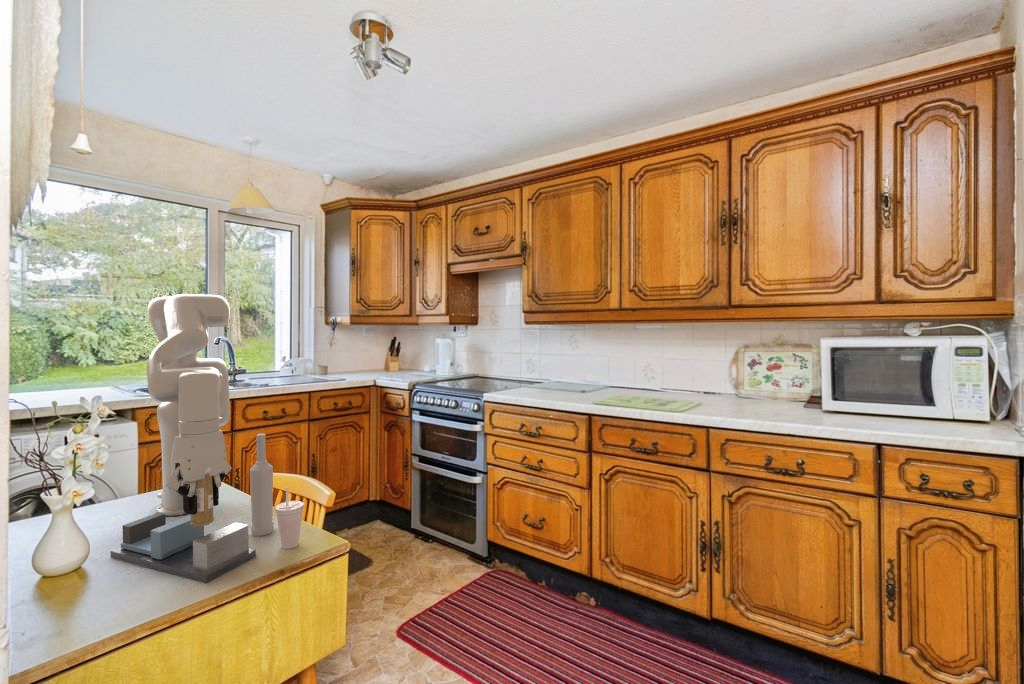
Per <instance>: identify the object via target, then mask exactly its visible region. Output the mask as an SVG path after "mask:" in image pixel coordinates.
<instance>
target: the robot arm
mask: <svg viewBox="0 0 1024 684" xmlns="http://www.w3.org/2000/svg"><path fill="white" fill-rule="evenodd" d="M147 307H148V308H147V309H148V310H147V311H148V318H149V320H150V324H151V327H152V329H153V332H154V333H155V334H156V337H157V339H158V342H159V344H158V345H156V347H155V348H154V349H153V350H152V351H151V353H150V355H149V357H148V360H147V362H146V363H147V364H146V379H147V390H148V395H149V396H150V398H151V399H152V400H153V401H155V402H159V404H158V406H157V408H156V419H157V424H158V429H159V434H160V445H161V472H162V473H161V476H162V478H161V479H162V480H161V481H162V492H158V494H156V495H157V496H156V497H157V498H158V499H161V503H159V505H157V506H156V508H155V511H156V513H158V512H159V513H164V514H166V516H167V517H168V516H170V517H171V516H173V517H174V516H180V515H181V516H182V515H187V514H189V515H191V514H193V515H194V514H196V513H197V496H196V495H194V491H195V486H196V481H199V480H201V479H203V478H205V474H207V473H205V471H206V469H207V468H210V469H211V471H210V472H208V473H210V474H209V475H210V476H212V486H213V507H218V506H219V502H220V501H219V498H220V497H219V495H220V494H219V493H220V491H219V489H220V487H221V486H222V481H223V480H224V479H225V478H226V475H227V474H229V472H231V470H232V466H231V464H230V463H229V462H228V461H227V448H226V440H225V436H224V434H223V430H222V429H221V427H223V426H226V425H227V424H228V423H229V421H230V418H231V403H230V401H231V399H230V384H229V380H230V379H229V371H228V367H227V364H226V362H225V361H224V360H223V359H222V358H215V357H206V358H203V357H202V358H199V356H198V353H199V352H200V351H202V350H204V349H205V348H206V346H208V343H209V333H208V328H219V327H220V328H221V327H225V326H226V325H228V323H229V322H230V318H231V309H230V305H229V302H228V300H226V298H225V297H224V296H221V295H217V294H201V293H200V294H198V293H197V294H196V293H195V294H194V293H180V294H175V295H172V296H170V295H169V296H161V297H156V298H153V299H151V300H150V302H149V304H148V306H147ZM156 513H155V514H156Z"/></svg>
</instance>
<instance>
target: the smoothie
mask: <svg viewBox="0 0 1024 684" xmlns="http://www.w3.org/2000/svg"><path fill="white" fill-rule="evenodd" d="M304 509H305V502H303V501H300V500H290V499H289V487H286V488H285V501H284V502H280V503H279V504H277V505H276V506H274V513H276V517H277V518H276V519H277V527H278V531H279V538H280V544H281V548H282V549H284V550H290V549H294V548H296V547H298V546H299V544H300V536H301V535H300V534H301V527H302V517H303V512H304V511H303V510H304Z"/></svg>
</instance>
